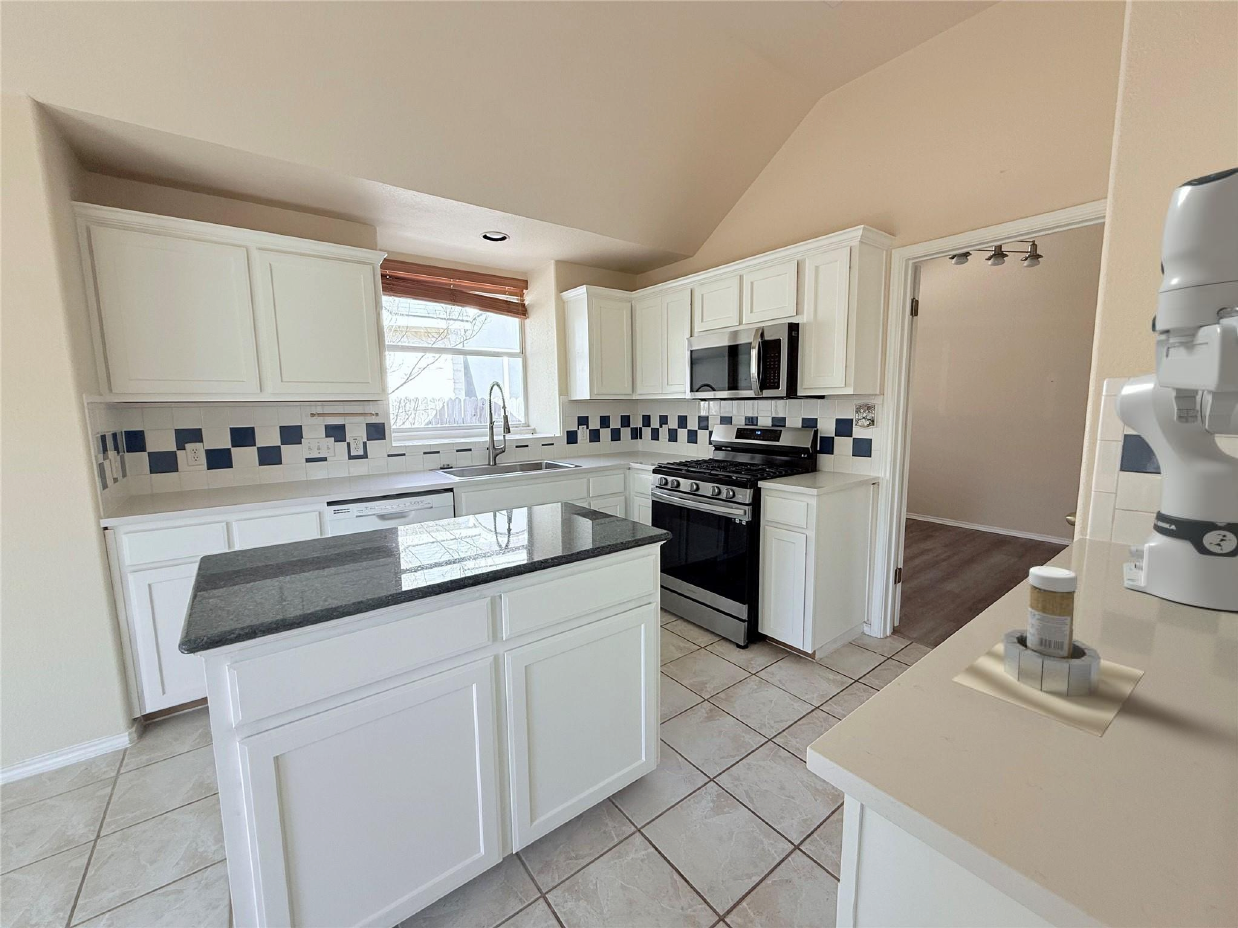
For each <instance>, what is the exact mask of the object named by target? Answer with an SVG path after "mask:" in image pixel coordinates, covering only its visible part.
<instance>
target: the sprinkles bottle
mask: <svg viewBox="0 0 1238 928" xmlns="http://www.w3.org/2000/svg"><path fill="white" fill-rule="evenodd" d="M1028 573H1029V574H1028V583H1029V587H1030V588H1029V589H1030V590H1029V604H1028V616H1027V629H1026V630H1027V649H1028V650H1030V651H1033V652H1036V653H1039V654H1042V655H1044V656H1049V657H1055V658H1060V659H1071V653H1072V644H1073V639H1074V628H1073V626H1074V613H1075V612H1074V611H1075V610H1074V609H1075V594H1076V590H1077V589H1078V576H1077V574H1076V573H1075V572H1073V571H1071V570H1068V569H1064V568H1060V567H1056V566H1043V565H1039V566H1033V567H1031V568H1030V569H1029V572H1028Z"/></svg>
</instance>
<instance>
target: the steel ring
mask: <svg viewBox="0 0 1238 928" xmlns="http://www.w3.org/2000/svg"><path fill="white" fill-rule="evenodd" d="M1027 630H1028V629H1013V630H1011V631H1008V632H1006V633H1005V634H1004V635H1003V639H1004V649H1003V667H1004V671H1005V672H1006V673H1007V674H1008V675H1010V676H1011V677H1012V678H1014V679H1015V680H1016V681H1018V682H1020V683H1022V684H1025V685H1027V686H1030V687H1032V688H1035V689H1037V690H1040V691H1043V692H1048V693H1053V694H1058V695H1062V696H1068V697H1074V696H1090V695H1092V694H1093V693H1095V692H1097V691H1098V689H1099V676H1100V663H1101V659H1102V658H1101V656H1100V654H1099V653H1098V651H1097V649H1095V648H1094V647H1092V646H1090V645H1088V644H1087V643H1085V642H1083V641H1081V640H1079V639H1075V638H1073V644H1072V653H1071V659H1060V658H1055V657H1049V656H1044V655H1042V654H1039V653H1036V652H1033V651H1030V650H1028V649H1027Z"/></svg>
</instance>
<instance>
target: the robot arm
mask: <svg viewBox="0 0 1238 928" xmlns="http://www.w3.org/2000/svg"><path fill="white" fill-rule="evenodd" d="M1163 226H1164V227H1163V232H1162V240H1161V249H1160V260H1161V261H1160V269H1161V270H1160V271H1161V274H1162V275H1163V278H1162V282H1161V284H1160V286H1159V289H1158V294H1157V307H1156V312H1155V315H1154V316H1153V318H1152V319H1151V321H1150V333H1151V334H1152V335H1156V338H1155V345H1154V346H1155V350H1154V351H1155V352H1154V353H1155V372H1154V373H1149V374H1144V375H1139V376H1135V377H1132V378H1130V379H1128V380H1127V382H1125V383H1124V385H1122V386H1121V388H1119V390H1118V392H1117V395H1116V397H1115V399H1114V400H1115V401H1114V409H1115V413H1116V416H1117V417H1118V419H1119V420H1120V421H1121V422H1122V424H1124V425H1125V426H1126V427H1128V429H1131V430H1132V431H1134V432H1135V433H1137V434H1138V435H1139V436H1140V437H1141V438H1143V439H1144V441H1146V443H1147V444H1148V445H1149V447H1150V448H1151V450H1152V452H1153V453H1154V454H1155V457H1156V459H1157V460H1158V465H1159V469H1160V476H1161V478H1160V479H1161V480H1160V482H1161V483H1160V485H1161V486H1160V487H1161V489H1160V490H1161V491H1160V507H1159V510H1158V511H1156V514H1155V517H1154V518H1153V527H1152V529H1153V530H1154V531H1153V532H1152V533H1151V534H1150V535H1148V536H1147V538H1145V539H1144V540H1143V541H1142V542H1141V544H1140V546H1129V551H1128V552H1129V555H1128V556H1129V557H1128V558H1129V559H1134V560H1139V562H1138V561H1137V562H1136V561H1135V562H1124V563H1123V566H1122V573H1123V574H1122V575H1123V577H1122V579H1123V587H1124V588H1127V589H1129V590H1135V591H1138V592H1139V591H1140V592H1143V593H1147V594H1149V595H1154V596H1156V597H1158V598H1161V599H1166V600H1170V601H1173V602H1177V603H1181V604H1186V605H1191V606H1195V607H1196V606H1197V607H1201V608H1202V607H1203V608H1206V609H1207V608H1209V609H1215V610H1223V611H1237V612H1238V457H1235V456H1232V455H1231V454H1228V453H1226V452H1225V451H1223V450H1222V448H1220V446H1219V445H1218V443H1217V440H1216V435H1223V436H1226V435H1227V436H1238V167H1234V168H1230V169H1226V170H1223V171H1217V172H1214V173H1211V174H1207V175H1203V176H1200V177H1197V178H1193V179H1191V180H1188V181H1186V182H1184V183H1182V184H1181V185H1179V186H1177V188H1175V189H1174V191H1173V193H1172V195H1171V197H1170V201H1169V205H1168V208H1167V213H1166V217H1165V221H1164V225H1163Z"/></svg>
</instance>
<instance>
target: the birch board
mask: <svg viewBox="0 0 1238 928" xmlns="http://www.w3.org/2000/svg"><path fill="white" fill-rule="evenodd" d="M1003 649H1004V638H1003V639H1002V640H1000V642H998V643H997V644H996V645H995V646H993V647H992V648H991V649H990V650H988V651H987V652H985V653H984V654H983V655H982V656H980V657H979V658H978V659H976V660H975V661H974V662H973V663H971V664H970V665H968V666H967V667H966V668H965V669H963V670H962V671H960V673H959V674H957V675H956V676H954V677H953V678H952V679H951V680H950V681H951V682H954V683H957V684H959V685H963V686H965V687H967V688H970V689H973V690H975V691H978V692H981V693H983V694H985V695H989V696H991V697H994V698H996V699H1000V700H1002V701H1005V702H1007V703H1010V704H1013V705H1015V706H1017V707H1019V708H1022V709H1025V710H1028V711H1031V712H1033V713H1036V714H1038V715H1041V716H1043V717H1047V718H1049V719H1051V720H1054V721H1057V722H1060V723H1062V724H1065V725H1067V726H1070V727H1073V728H1076V729H1078V730H1081V731H1084V732H1086V733H1089V734H1091V735H1094V736H1097V737H1100V738H1102V736H1103V735H1104V733H1105V731H1106V730H1107V728H1108V727H1109V726H1110V725H1111V722H1112V721H1113V719H1114V718H1115V716H1117V713H1118V712H1119V711H1120V710H1121V708H1122V706H1123V705H1124V703H1125V702H1126V701H1127V699H1128V697H1129V696H1130V694H1131V693H1132V691H1134V689H1135V687H1136V686H1137V684H1138V683H1139V681H1140V680H1141V678H1142V677H1143V675H1144V674H1145V671H1143V670H1139V669H1137V668H1133V667H1130V666H1126V665H1123V664H1122V665H1121V664H1119V663H1116V662H1112V661H1109V660H1105V659H1102V658H1101V663H1100V676H1099V689H1098V691H1097V692H1095V693H1093V694H1092V695H1090V696H1074V697H1068V696H1062V695H1058V694H1053V693H1048V692H1043V691H1040V690H1037V689H1035V688H1032V687H1030V686H1027V685H1025V684H1022V683H1020V682H1018V681H1016V680H1015V679H1014V678H1012V677H1011V676H1010V675H1008V674H1007V673H1006V672H1005V671H1004V667H1003Z"/></svg>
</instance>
